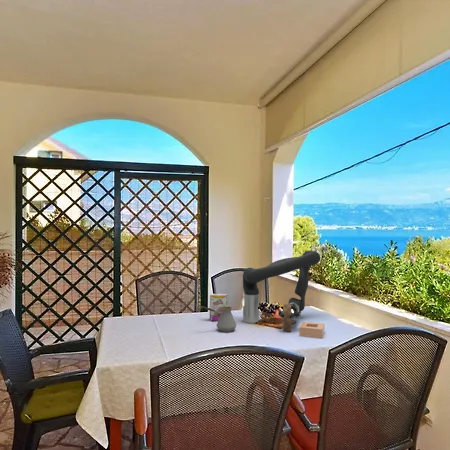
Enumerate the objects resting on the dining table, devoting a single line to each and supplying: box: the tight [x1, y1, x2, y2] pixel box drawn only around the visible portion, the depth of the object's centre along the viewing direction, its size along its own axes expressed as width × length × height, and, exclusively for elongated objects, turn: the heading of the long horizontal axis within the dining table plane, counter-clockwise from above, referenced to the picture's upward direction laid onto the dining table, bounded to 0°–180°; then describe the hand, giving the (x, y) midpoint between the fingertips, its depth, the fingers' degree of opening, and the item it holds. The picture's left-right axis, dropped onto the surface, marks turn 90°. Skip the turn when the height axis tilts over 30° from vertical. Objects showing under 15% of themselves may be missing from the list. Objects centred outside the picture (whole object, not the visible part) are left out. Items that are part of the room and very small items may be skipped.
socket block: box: [298, 321, 325, 339], centre depth 207 cm, size 12×12×5 cm
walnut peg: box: [282, 303, 292, 333], centre depth 213 cm, size 4×4×15 cm
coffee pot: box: [199, 305, 237, 333], centre depth 214 cm, size 21×12×15 cm, turn 109°
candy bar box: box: [209, 293, 229, 322], centre depth 236 cm, size 11×5×16 cm, turn 84°
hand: (286, 316), depth 210 cm, fingers closed on walnut peg, 4 cm apart
